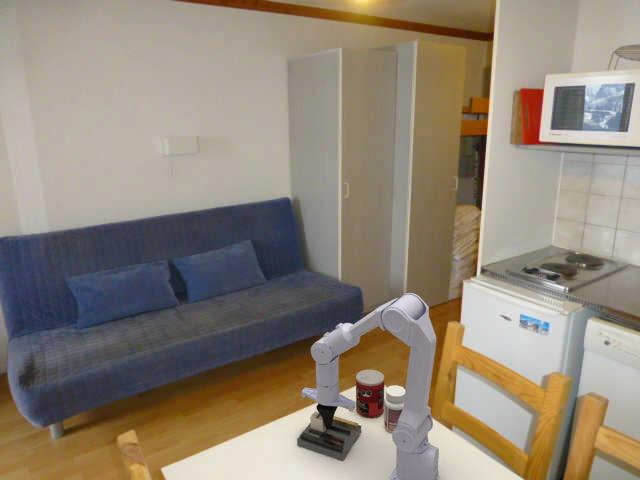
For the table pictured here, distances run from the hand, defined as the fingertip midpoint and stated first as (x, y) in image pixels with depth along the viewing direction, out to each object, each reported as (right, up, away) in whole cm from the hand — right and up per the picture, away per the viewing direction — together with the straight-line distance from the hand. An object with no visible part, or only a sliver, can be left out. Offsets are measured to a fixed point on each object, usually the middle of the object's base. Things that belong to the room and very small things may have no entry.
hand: (328, 426), depth 123 cm
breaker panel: (0, -4, +1) cm, 4 cm away
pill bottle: (+18, -2, +5) cm, 19 cm away
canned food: (+12, 0, +12) cm, 17 cm away
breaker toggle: (-3, -1, +2) cm, 3 cm away
